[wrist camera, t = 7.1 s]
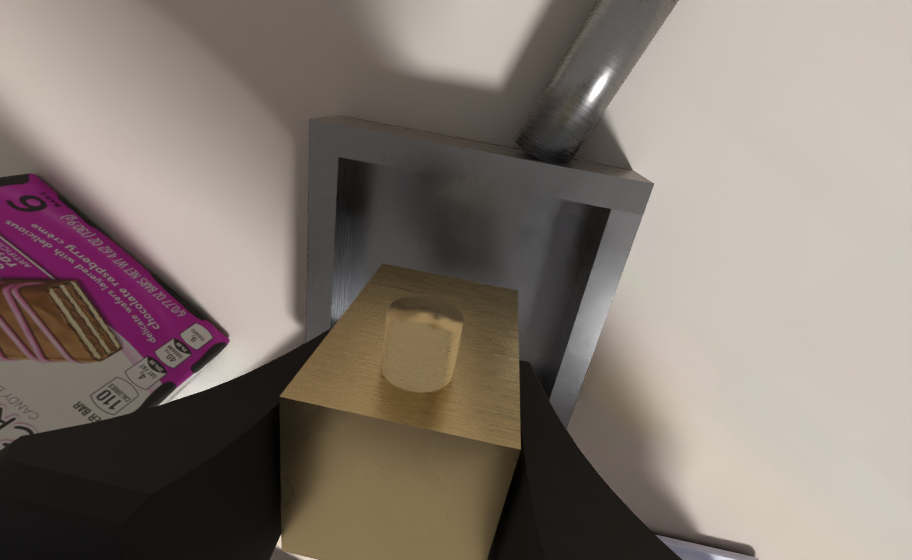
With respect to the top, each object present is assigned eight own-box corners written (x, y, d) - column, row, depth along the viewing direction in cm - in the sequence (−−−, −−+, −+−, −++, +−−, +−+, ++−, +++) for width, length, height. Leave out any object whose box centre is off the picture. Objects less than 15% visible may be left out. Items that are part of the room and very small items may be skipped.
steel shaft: (560, 166, 16) (566, 176, 14) (514, 137, 15) (514, 143, 14) (697, -40, 13) (728, -63, 11) (642, -79, 12) (664, -107, 11)
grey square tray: (554, 406, 20) (559, 446, 18) (328, 357, 20) (305, 390, 18) (633, 170, 15) (654, 183, 13) (338, 115, 16) (309, 119, 14)
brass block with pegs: (483, 426, 14) (465, 630, 9) (369, 401, 15) (282, 586, 9) (527, 252, 12) (538, 390, 6) (386, 224, 12) (278, 334, 6)
